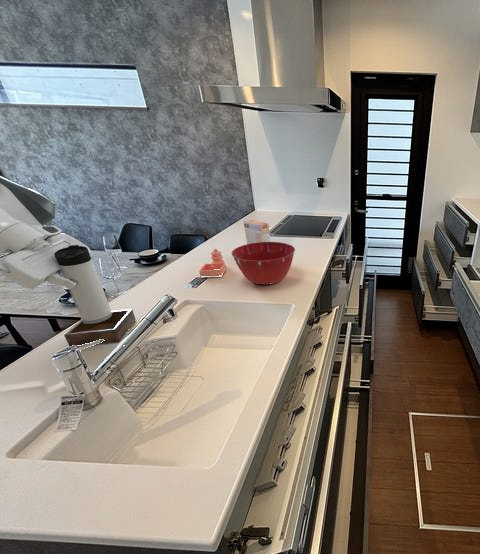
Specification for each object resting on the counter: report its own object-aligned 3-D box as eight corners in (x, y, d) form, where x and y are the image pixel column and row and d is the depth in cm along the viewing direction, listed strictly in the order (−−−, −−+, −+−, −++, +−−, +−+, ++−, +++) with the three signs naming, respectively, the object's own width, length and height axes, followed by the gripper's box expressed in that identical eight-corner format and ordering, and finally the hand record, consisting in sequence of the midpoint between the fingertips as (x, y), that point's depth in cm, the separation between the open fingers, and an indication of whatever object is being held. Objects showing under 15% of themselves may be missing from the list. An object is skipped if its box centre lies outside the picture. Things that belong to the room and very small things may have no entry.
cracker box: (272, 258, 176) (268, 222, 168) (264, 261, 172) (260, 225, 163) (256, 253, 183) (251, 219, 174) (248, 256, 178) (243, 221, 169)
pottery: (221, 277, 150) (218, 259, 146) (200, 278, 148) (196, 259, 144) (229, 264, 166) (226, 247, 162) (211, 265, 164) (207, 247, 160)
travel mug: (114, 309, 87) (89, 243, 79) (110, 320, 82) (84, 251, 73) (85, 314, 84) (57, 246, 76) (80, 326, 79) (48, 254, 71)
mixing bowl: (269, 264, 167) (265, 237, 161) (309, 276, 154) (307, 247, 148) (223, 282, 145) (218, 252, 138) (266, 298, 132) (262, 265, 126)
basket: (69, 347, 98) (64, 334, 96) (92, 325, 110) (87, 313, 107) (119, 342, 101) (114, 329, 99) (136, 320, 113) (132, 309, 111)
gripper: (-11, 249, 62) (63, 289, 68) (60, 224, 81) (113, 257, 87) (-27, 270, 63) (48, 307, 69) (47, 240, 81) (100, 272, 87)
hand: (85, 279), depth 78 cm, fingers closed on travel mug, 6 cm apart
